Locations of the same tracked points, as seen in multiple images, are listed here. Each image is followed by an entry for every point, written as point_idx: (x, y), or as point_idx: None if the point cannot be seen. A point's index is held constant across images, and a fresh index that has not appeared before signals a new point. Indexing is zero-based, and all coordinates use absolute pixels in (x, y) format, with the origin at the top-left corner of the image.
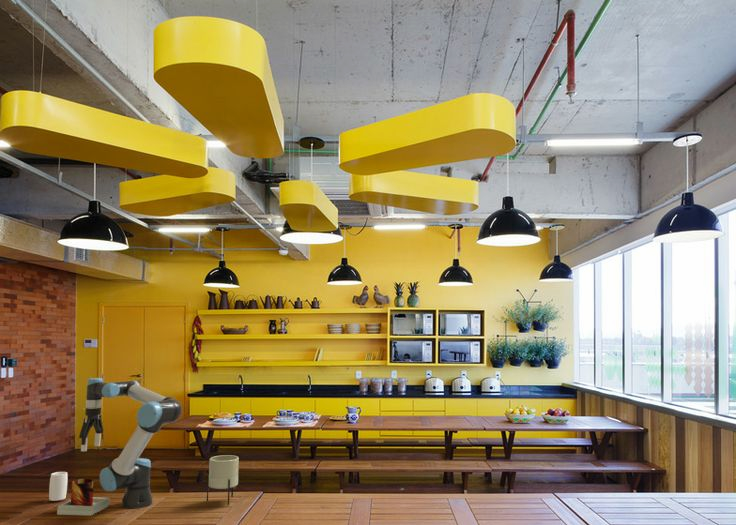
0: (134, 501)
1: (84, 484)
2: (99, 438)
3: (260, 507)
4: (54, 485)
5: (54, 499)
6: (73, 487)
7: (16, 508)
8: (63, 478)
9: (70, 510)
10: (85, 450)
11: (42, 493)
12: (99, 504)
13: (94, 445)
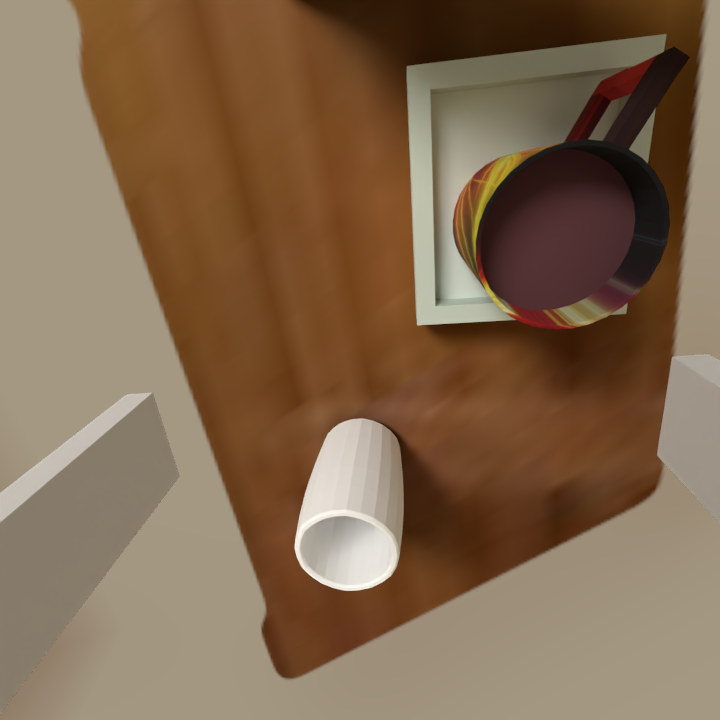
0: None
1: (647, 171)
2: (42, 496)
3: None
4: (402, 501)
5: (399, 448)
6: (633, 270)
7: (501, 539)
8: (368, 494)
9: None
10: (715, 370)
11: (267, 567)
12: (557, 49)
13: (175, 480)
